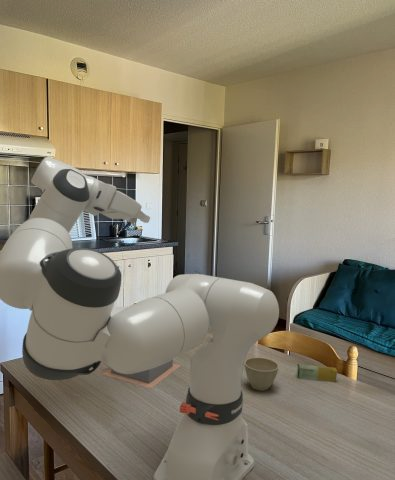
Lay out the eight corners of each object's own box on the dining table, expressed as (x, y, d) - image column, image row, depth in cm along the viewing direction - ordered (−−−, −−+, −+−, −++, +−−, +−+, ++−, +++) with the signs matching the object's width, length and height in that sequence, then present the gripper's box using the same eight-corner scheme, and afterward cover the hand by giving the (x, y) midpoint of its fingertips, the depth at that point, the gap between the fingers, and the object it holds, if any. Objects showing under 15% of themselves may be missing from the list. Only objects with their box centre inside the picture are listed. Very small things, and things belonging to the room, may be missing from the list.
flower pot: (277, 397, 112) (278, 373, 111) (241, 392, 114) (243, 368, 113) (277, 381, 121) (278, 359, 121) (244, 377, 123) (245, 355, 123)
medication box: (296, 379, 124) (297, 367, 123) (296, 375, 127) (296, 363, 126) (336, 383, 122) (337, 370, 122) (334, 378, 125) (335, 367, 124)
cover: (149, 383, 116) (150, 327, 114) (111, 372, 122) (111, 319, 120) (172, 366, 128) (174, 315, 126) (137, 357, 134) (138, 308, 133)
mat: (151, 389, 113) (151, 388, 113) (101, 375, 121) (101, 373, 121) (180, 366, 129) (181, 365, 129) (135, 355, 137) (135, 354, 137)
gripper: (81, 210, 111) (124, 230, 117) (102, 207, 93) (151, 231, 100) (91, 190, 112) (132, 211, 118) (113, 183, 94) (161, 208, 101)
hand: (141, 220), depth 109 cm, fingers open, 8 cm apart
